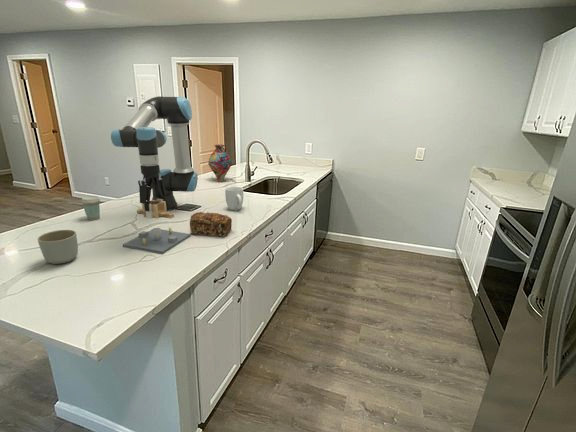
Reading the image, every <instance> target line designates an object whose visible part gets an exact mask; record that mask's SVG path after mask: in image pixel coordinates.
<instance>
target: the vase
mask: <svg viewBox="0 0 576 432" xmlns="http://www.w3.org/2000/svg"><path fill="white" fill-rule="evenodd" d="M214 147H215V149H214V151H212V153H211V154H210V156H209V157H208V160H207V161H208V162H207V163H208V166H209V168H210V170H211V171H212V172H213V174H214V175H215V177H216V180H215V182H216V183H225V182H226V179H225V178H226V175H227V174H228V173H229V171H230V168H231V166H232V164H233V163H232V159H231V156H230V154H229V153H227V152H226V150H224V147H225V144H214Z"/></svg>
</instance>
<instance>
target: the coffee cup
mask: <svg viewBox="0 0 576 432" xmlns="http://www.w3.org/2000/svg"><path fill="white" fill-rule="evenodd" d="M100 200H101V199H100V198H99V197H98V196H97V195H87V196H84V197H82V198H81V204H82V206H83V210H84V212H85V216H86V219H87V220H88V221H97V220H99V219H100V218H101V213H100V212H101V210H100V209H101V208H100Z"/></svg>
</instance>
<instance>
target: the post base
mask: <svg viewBox="0 0 576 432" xmlns="http://www.w3.org/2000/svg"><path fill="white" fill-rule="evenodd" d="M191 234H192V233H186V232H180V231H173V230H172V227H168V229H162V228H161V227H155V228H152V229H150V230H148V231H146V230H145V231H144V230H143V231H141V232H138V236H137V237H134V238H133V239H131V240H128V241H126V242H125V243H122V247H123V248H128V249H133V250H139V251H144V252H150V253H154V254H155V253H156V254H161V255H164V254H166V253H167V252H168V251H170V250H171V249H173V248H175V247H177V246H178V245H180V244H181V243H182V242H184V241H185V240H187V239H189V238H191Z"/></svg>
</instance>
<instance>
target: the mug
mask: <svg viewBox="0 0 576 432" xmlns="http://www.w3.org/2000/svg"><path fill="white" fill-rule="evenodd" d="M224 191H225V194H224V195H225V203H226V205H227V208H228V210H230V211H240V209H241V208H242V206H243V203H244V188H243V187H241V186H228V187H225V188H224Z"/></svg>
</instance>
